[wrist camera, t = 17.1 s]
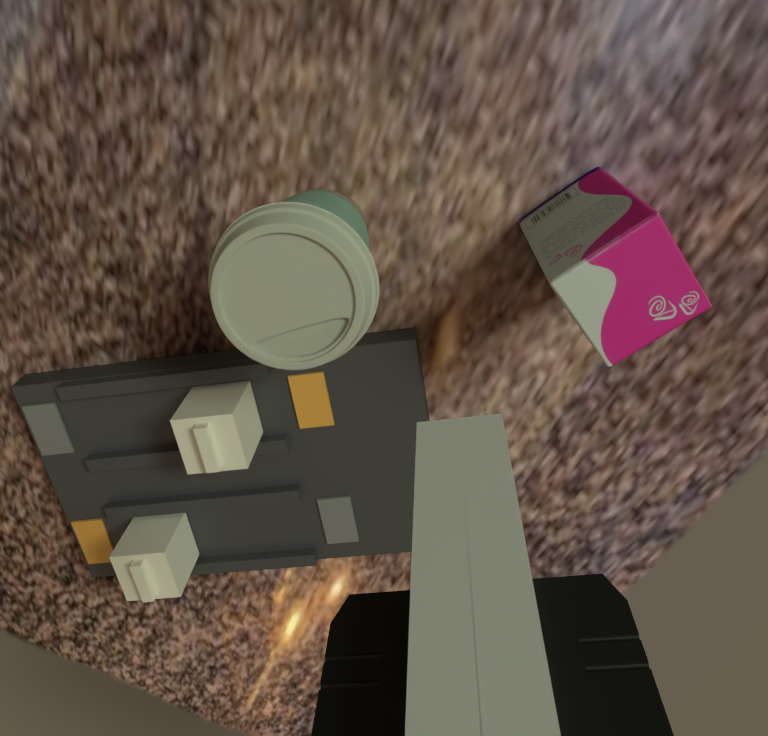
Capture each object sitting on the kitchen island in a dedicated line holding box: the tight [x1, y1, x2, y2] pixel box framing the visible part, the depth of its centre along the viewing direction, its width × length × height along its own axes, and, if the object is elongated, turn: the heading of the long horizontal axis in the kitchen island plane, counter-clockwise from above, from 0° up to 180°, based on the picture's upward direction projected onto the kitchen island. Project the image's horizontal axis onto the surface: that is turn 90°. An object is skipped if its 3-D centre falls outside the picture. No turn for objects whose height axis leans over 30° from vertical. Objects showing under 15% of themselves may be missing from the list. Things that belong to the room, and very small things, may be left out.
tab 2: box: [109, 513, 199, 602], centre depth 50 cm, size 4×4×5 cm
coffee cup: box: [208, 188, 379, 370], centre depth 39 cm, size 8×8×12 cm
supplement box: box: [519, 167, 712, 367], centre depth 38 cm, size 6×6×12 cm
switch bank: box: [11, 327, 430, 577], centre depth 50 cm, size 17×28×3 cm, turn 99°
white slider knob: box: [170, 380, 263, 474], centre depth 45 cm, size 4×4×5 cm
